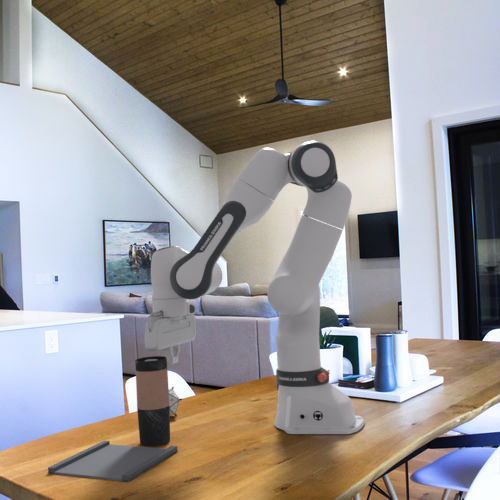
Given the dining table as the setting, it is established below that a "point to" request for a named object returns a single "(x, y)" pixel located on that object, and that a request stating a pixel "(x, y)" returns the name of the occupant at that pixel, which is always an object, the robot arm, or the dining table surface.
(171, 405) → the game die
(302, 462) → the dining table surface
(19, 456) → the dining table surface
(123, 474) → the tray
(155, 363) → the travel mug
